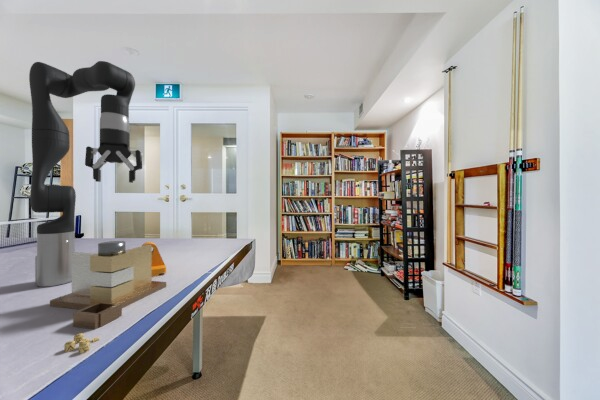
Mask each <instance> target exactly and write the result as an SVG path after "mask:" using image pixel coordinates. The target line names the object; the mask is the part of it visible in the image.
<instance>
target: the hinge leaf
mask: <svg viewBox="0 0 600 400" xmlns="http://www.w3.org/2000/svg"><path fill="white" fill-rule="evenodd" d="M96 254H98V252H82V251H81V252H79V251H75V252H73V253H72V281H71V293H81V294H90V286H104V287H113V286H116V285H119V284H121V283H124V282H127V281H129V280H132V279H134V266H130V267H127V268H124V269H120V270H117V271H114V272H101V271H90V256H91V255H96Z"/></svg>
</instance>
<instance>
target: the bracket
mask: <svg viewBox="0 0 600 400" xmlns="http://www.w3.org/2000/svg"><path fill="white" fill-rule="evenodd" d="M145 245H152V270H151V278H154V277H159V276H160V275H161V274H165V273H167V266H166V265H165V262H164V259H163V257H162V255H161V253H160V251H159V249H158V246H157V245H156V243H155V242H152V241H146V242H145V243H143V244H142V245H141V246H145Z"/></svg>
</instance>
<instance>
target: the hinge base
mask: <svg viewBox="0 0 600 400" xmlns="http://www.w3.org/2000/svg"><path fill="white" fill-rule="evenodd" d="M152 250H153V247H152V245H145V246H142V245H141V246H138V247H134V248H133V247H132V248H129V249H125V253H123V254H120V255H113V256H99V255H98V254H96V255H91V256H90V271H101V272H114V271H117V270H120V269H124V268H127V267H130V266H134V279H132V280H129V281H127V282H124V283H121V284H119V285H116V286H113V287H104V286H90V294H81V293H72V292H71V293H70V292H69V293H68V294H65V295H62V296H59V297H56V298H53V299H49V306H50V307H55V308H57V307H58V308H64V309H65V308H67V309H72V310H73V309H74V310H76V311H75V312H73V314H72V327H76V328H83V329H91V330H96V329H98V328H101V327H103V326H105V325H107V324H110V323H112V322H113V321H115V320H117V319H119V318H120V317H122V314H123V313H122V312H123V308H125V307H127V306H130V305H132V304H133V303H135V302H138V301H139V300H142V299H144V298H146V297H148V296H150V295H152V294H154V293H156V292H158V291H160V290H162V289H164V288H167V282H166V281H158V280H152V277H151V270H152Z"/></svg>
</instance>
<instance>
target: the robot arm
mask: <svg viewBox="0 0 600 400" xmlns="http://www.w3.org/2000/svg"><path fill="white" fill-rule="evenodd" d="M28 75H29V76H28V78H29V79H28V80H29V89H30V98H31V112H32V116H31V117H32V119H31V152H32V153H31V154H32V155H31V156H32V167H31V168H32V169H31V170H32V172H31V183H30V195H29V197H30V198H29V200H30V201H29V202H30V208H31V210H32V211H33V212H34V213H39V214H41V213H62V214H61V215H60V216H59V217H56V218H55V219H52V220H51V221H46V222H43V223H40V224H38V225H37V227H36V255H35V257H34V260H35V263H34V264H35V265H34V269H35V270H34V273H35V274H34V277H35V279H34V280H35V281H34V284H35V285H36V286H37V287H44V288H45V287H55V286H60V285H65V284H68V283H72V253H73V252H76V251H75V250H76V249H75V248H76V247H75V246H76V245H75V243H76V241H75V239H76V238H75V236H76V235H75V232H76V231H75V225H76V224H75V215H76V214H75V211H76V197H77V195H76V189H75V188H74V186H71V185H61V184H60V185H59V184H58V185H57V184H56V185H54V184H51V185H49V184H45V182H46V180H47V178H48V175H49V174H50V173H51V171H52V170H53V169H54V168H55V167H56V166H57V165H58V164H59V163H60V161H61V160H63V159H64V158H65V156H67V154H68V153H69V151H70V145H71V144H70V140H71V139H70V130H69V129H68V126H67V124H66V123H65V122H64V120H63V118H62V117H61V115H60V114H59V112H58V111H57V110H56V108H55V107H54V105H53V103H52V100H51V95H53V96H56V97H57V98H61V99H68V98H69V99H70V98H73V97H76V96H79V95H81V94H84V93H89V92H102V91H107V90H109V89H111V90H113V91H116V94H108V93H107V94H106V93H105V94H103V95H101V98H100V118H99V146H98V147H92V146H89V145H88V146H86V148H85V159H84V165H85V166H86V167H88V168H90V169H92V175H93V176H92V179H93V180H95V182H99V183H100V182H101V180H102V179H101V178H102V175H101V174H102V173H101V172H102V171H101V168H102V167H103V166H104V165H106V164H107V163H110V164H115V163H118V164H123V163H124V165H126V167H127V168H128V169H129V170H128V183H130V184H131V183H134V182H135V181H136V171H138V170H142V169H143V157H142V152H141V151H140V150H139V149H136V150H131V147H130V144H131V141H130V133H131V129H130V128H131V127H130V119H129V113H130V112H129V111H130V110H129V109H130V108H129V107H130V103H131V99H132V96H133V94H134V91H135V87H136V80H135V77H134V76H133V74H132V73H131V72H129V71H127V70H126V69H123V68H121V67H119V66H117V65H115V64H113V63H111V62H108V61H104V60H99V61H96V62H95V63H94V64H93V65H91V66H89V67H81V68H77V69H75V71H73V74H70V73H67V72H66V71H64V70H61V69H59V68H57V67H54V66H53V65H50V64H47V63H45V62H41V61H36V62H35V61H34V62H33V63H32V64H31V66H30V69H29V74H28ZM97 153H99V155H100V157H98V159H97V160H96V162H94V157H95V155H96V154H97ZM131 156H133V157H134V158H135V165H134V164H133V163H132V162H131V161H130V160H129V158H130V157H131Z"/></svg>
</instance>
